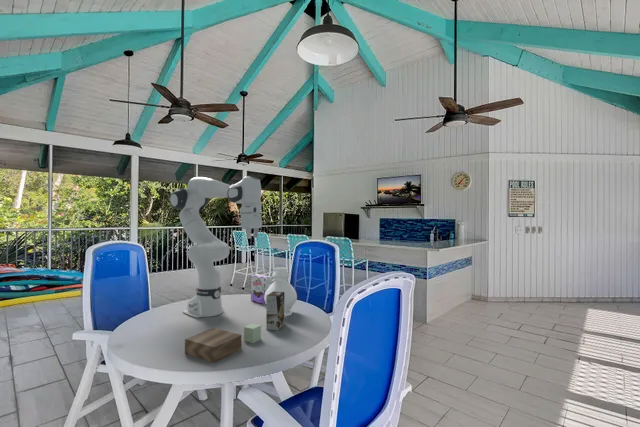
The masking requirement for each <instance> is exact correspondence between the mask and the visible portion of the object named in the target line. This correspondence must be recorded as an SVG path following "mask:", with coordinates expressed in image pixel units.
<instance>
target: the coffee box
mask: <svg viewBox="0 0 640 427" xmlns="http://www.w3.org/2000/svg"><path fill="white" fill-rule="evenodd" d="M265 311H266V314H265V315H266V318H265V319H266V325H265V326H266V328H265V329H266V330H269V331H271V330H272V331H279V330H280V329H282V327H283V326H284V325H285V317H284V292H271V293H270V294H268V295H267V304H266V310H265Z"/></svg>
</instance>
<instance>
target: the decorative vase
mask: <svg viewBox="0 0 640 427" xmlns="http://www.w3.org/2000/svg"><path fill="white" fill-rule="evenodd" d="M288 269H289V268H288V267H286V266H278V267H277V266H276V267H274V268H273V270H274V272H273V273H272V275H271V277H272V280H274V281H272V284H271V285H270V286H269V288H268V289H267V290H266V292H265V295H264V300H265V303H266V304H265V305H267V295H268V294H270V293H271V292H284V318H286V317H290V316H291V315H292V314H293V311H292V310H291V309H292V307H293V306H294V305H295V304H296V302H297V299H298V294H297V291H296V289H295V288H294V286H293V285H292V284H291V283H290V282H289V281H287V280H288V279H289V277H290V273H289V272H288Z"/></svg>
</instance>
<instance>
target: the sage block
mask: <svg viewBox="0 0 640 427" xmlns="http://www.w3.org/2000/svg"><path fill="white" fill-rule="evenodd" d="M261 328H262V327H261V325H260V324H256V323H249V324H247V325H246V326H244V327H243V341H244V342H246V343H250V344H255V343H257V342H258V341H260V340H261V339H262V338H261V336H262V334H261V333H262V332H261V331H262V329H261Z"/></svg>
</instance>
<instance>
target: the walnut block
mask: <svg viewBox="0 0 640 427" xmlns="http://www.w3.org/2000/svg"><path fill="white" fill-rule="evenodd" d="M240 350H242V334H241V333H235V332H231V331H227V330H223V329H219V328H215V327H212V328H210V329H209V328H208V329H206V330H205V331H202V332H201V331H200V332H199V333H196V334H194V335H192V336H189V337H186V338H185V339H184V354H185V355H188V356H192V357H194V358H198V359H200V360H203V361H208V362H210V363H213V364H216V362H219V361H221V360H223V359H225V358H227V357H228V356H229V357H230V355H232V354H234V353H237V352H238V351H240Z"/></svg>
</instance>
